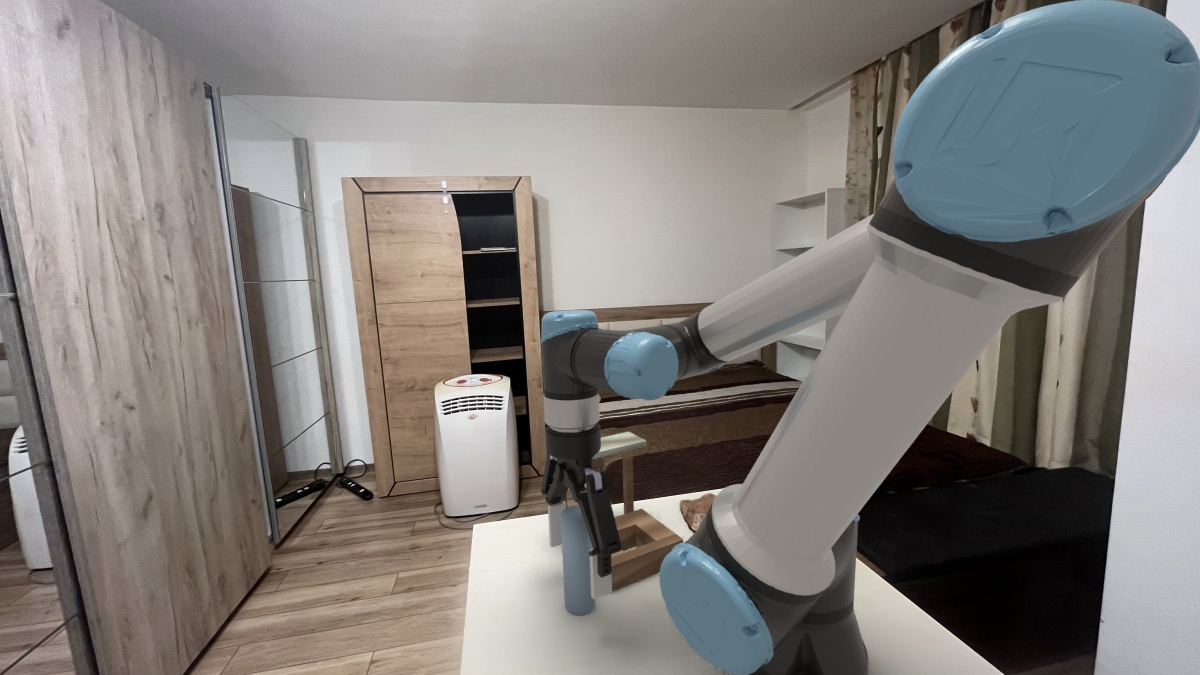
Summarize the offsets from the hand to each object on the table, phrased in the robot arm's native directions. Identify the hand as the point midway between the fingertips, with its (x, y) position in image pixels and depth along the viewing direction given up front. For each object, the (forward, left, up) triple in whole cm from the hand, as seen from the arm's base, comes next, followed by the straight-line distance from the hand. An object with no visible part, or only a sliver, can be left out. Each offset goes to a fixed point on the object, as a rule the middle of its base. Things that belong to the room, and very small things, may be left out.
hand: (578, 567), depth 68 cm
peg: (0, 0, -6) cm, 6 cm away
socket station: (+9, -12, -6) cm, 16 cm away
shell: (+8, -33, -7) cm, 34 cm away
